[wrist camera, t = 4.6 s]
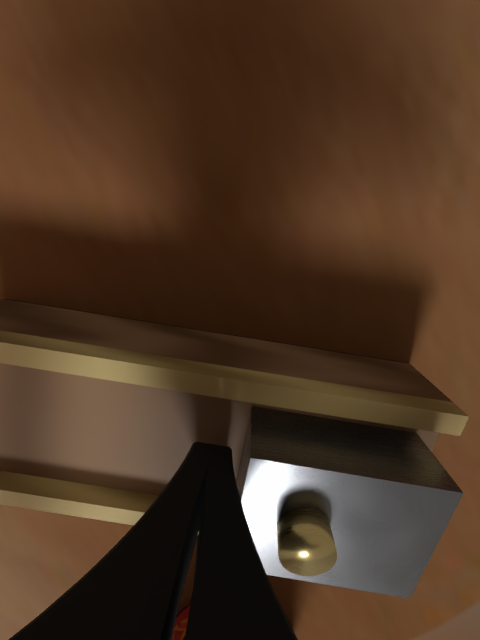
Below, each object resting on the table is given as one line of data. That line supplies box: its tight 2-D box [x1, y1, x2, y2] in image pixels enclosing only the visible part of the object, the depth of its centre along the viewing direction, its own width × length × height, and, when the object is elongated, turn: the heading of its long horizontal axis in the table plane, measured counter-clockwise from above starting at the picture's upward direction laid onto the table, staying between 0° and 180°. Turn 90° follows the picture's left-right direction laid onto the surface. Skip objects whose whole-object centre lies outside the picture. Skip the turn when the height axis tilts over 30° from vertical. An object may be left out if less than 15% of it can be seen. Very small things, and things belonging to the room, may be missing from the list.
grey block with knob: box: [236, 406, 463, 598], centre depth 10 cm, size 6×4×3 cm
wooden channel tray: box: [0, 299, 469, 534], centre depth 12 cm, size 18×7×4 cm, turn 81°
